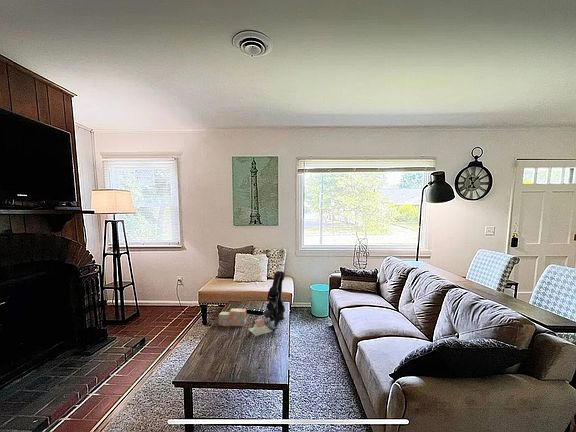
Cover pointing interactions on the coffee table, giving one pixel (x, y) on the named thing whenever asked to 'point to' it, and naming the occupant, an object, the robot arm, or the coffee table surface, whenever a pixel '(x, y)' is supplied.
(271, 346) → the coffee table surface
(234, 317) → the stack of blocks
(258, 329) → the brick cream
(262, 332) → the baseplate
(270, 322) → the brick blue
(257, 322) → the brick terracotta
